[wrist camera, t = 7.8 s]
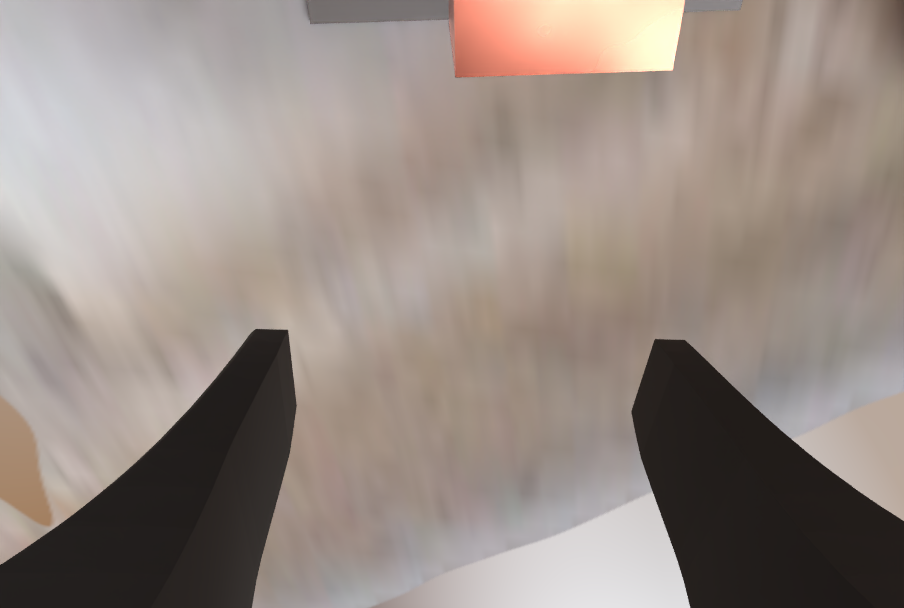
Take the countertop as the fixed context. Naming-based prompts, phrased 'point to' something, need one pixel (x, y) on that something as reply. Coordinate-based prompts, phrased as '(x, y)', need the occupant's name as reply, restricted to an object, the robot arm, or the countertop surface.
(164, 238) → the countertop surface
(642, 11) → the copper cube mallet
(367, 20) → the gray panel
